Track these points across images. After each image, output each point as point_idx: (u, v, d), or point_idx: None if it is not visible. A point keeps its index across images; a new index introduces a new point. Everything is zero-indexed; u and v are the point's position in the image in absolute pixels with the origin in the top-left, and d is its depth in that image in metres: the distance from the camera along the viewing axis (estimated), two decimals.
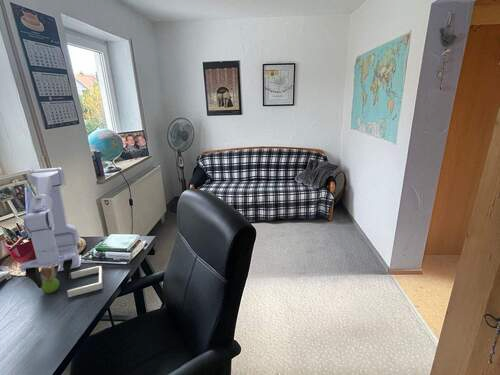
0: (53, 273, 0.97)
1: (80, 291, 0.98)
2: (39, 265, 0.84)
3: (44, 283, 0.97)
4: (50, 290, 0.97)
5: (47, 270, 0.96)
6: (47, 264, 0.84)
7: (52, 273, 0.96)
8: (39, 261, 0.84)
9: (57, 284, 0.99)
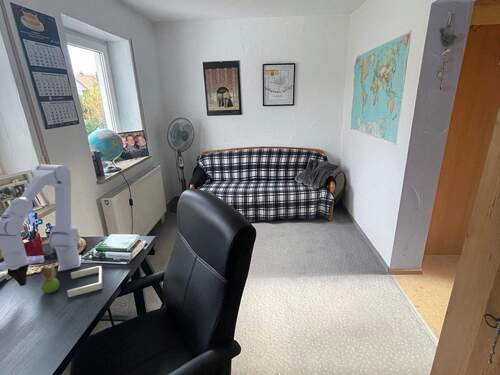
0: (53, 273, 0.97)
1: (80, 291, 0.98)
2: (7, 267, 0.89)
3: (44, 283, 0.97)
4: (50, 290, 0.97)
5: (47, 270, 0.96)
6: (14, 266, 0.89)
7: (52, 273, 0.96)
8: (7, 263, 0.89)
9: (57, 284, 0.99)
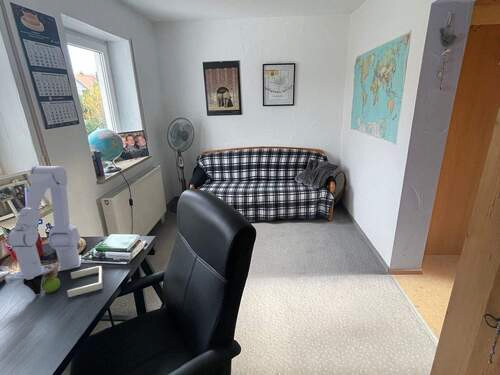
0: (56, 272, 0.97)
1: (80, 291, 0.98)
2: (23, 277, 0.92)
3: (45, 282, 0.97)
4: (51, 289, 0.97)
5: None
6: (30, 276, 0.92)
7: (55, 272, 0.97)
8: (23, 273, 0.92)
9: (58, 284, 0.99)
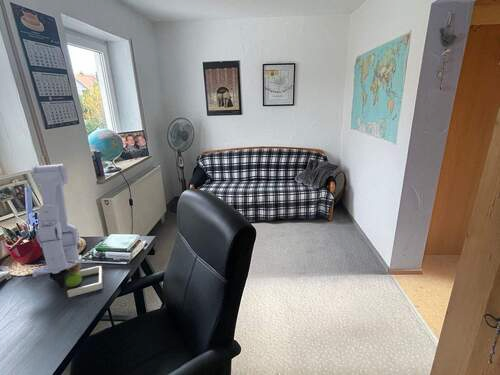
0: (79, 267, 1.00)
1: (80, 291, 0.98)
2: (49, 271, 0.95)
3: (69, 276, 1.00)
4: (73, 284, 1.00)
5: None
6: (56, 270, 0.95)
7: (78, 267, 1.00)
8: (49, 268, 0.95)
9: (80, 279, 1.02)
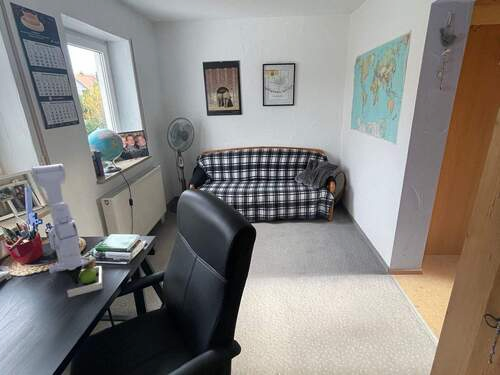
0: (94, 264, 1.02)
1: (80, 291, 0.98)
2: (65, 267, 0.97)
3: (84, 273, 1.02)
4: (88, 280, 1.03)
5: None
6: (72, 267, 0.97)
7: (93, 264, 1.02)
8: (65, 264, 0.97)
9: (95, 275, 1.05)
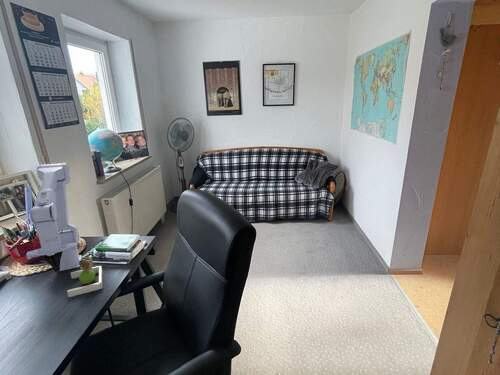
0: (91, 265, 1.02)
1: (80, 291, 0.98)
2: (44, 253, 0.93)
3: (82, 274, 1.02)
4: (88, 281, 1.02)
5: (85, 262, 1.02)
6: (51, 252, 0.93)
7: (90, 265, 1.01)
8: (44, 250, 0.93)
9: (94, 275, 1.04)
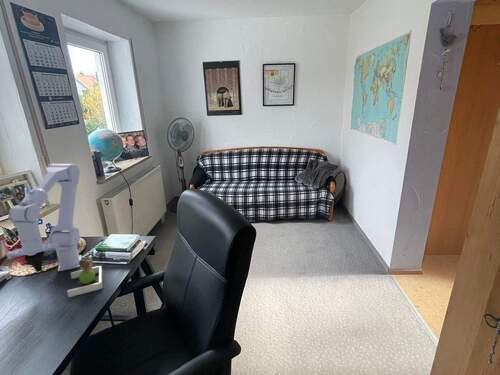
0: (91, 265, 1.02)
1: (80, 291, 0.98)
2: (24, 253, 0.93)
3: (82, 274, 1.02)
4: (88, 281, 1.02)
5: (85, 262, 1.02)
6: (31, 252, 0.93)
7: (90, 265, 1.01)
8: (24, 249, 0.93)
9: (94, 275, 1.04)
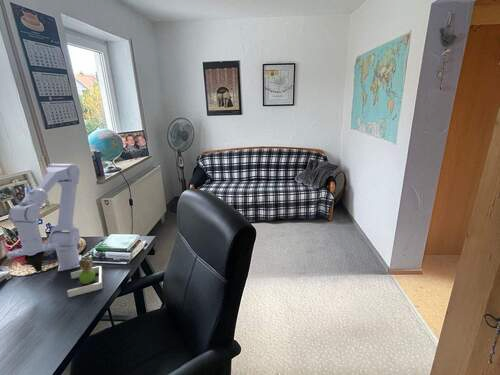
0: (91, 265, 1.02)
1: (80, 291, 0.98)
2: (24, 253, 0.93)
3: (82, 274, 1.02)
4: (88, 281, 1.02)
5: (85, 262, 1.02)
6: (31, 252, 0.93)
7: (90, 265, 1.01)
8: (24, 249, 0.93)
9: (94, 275, 1.04)
